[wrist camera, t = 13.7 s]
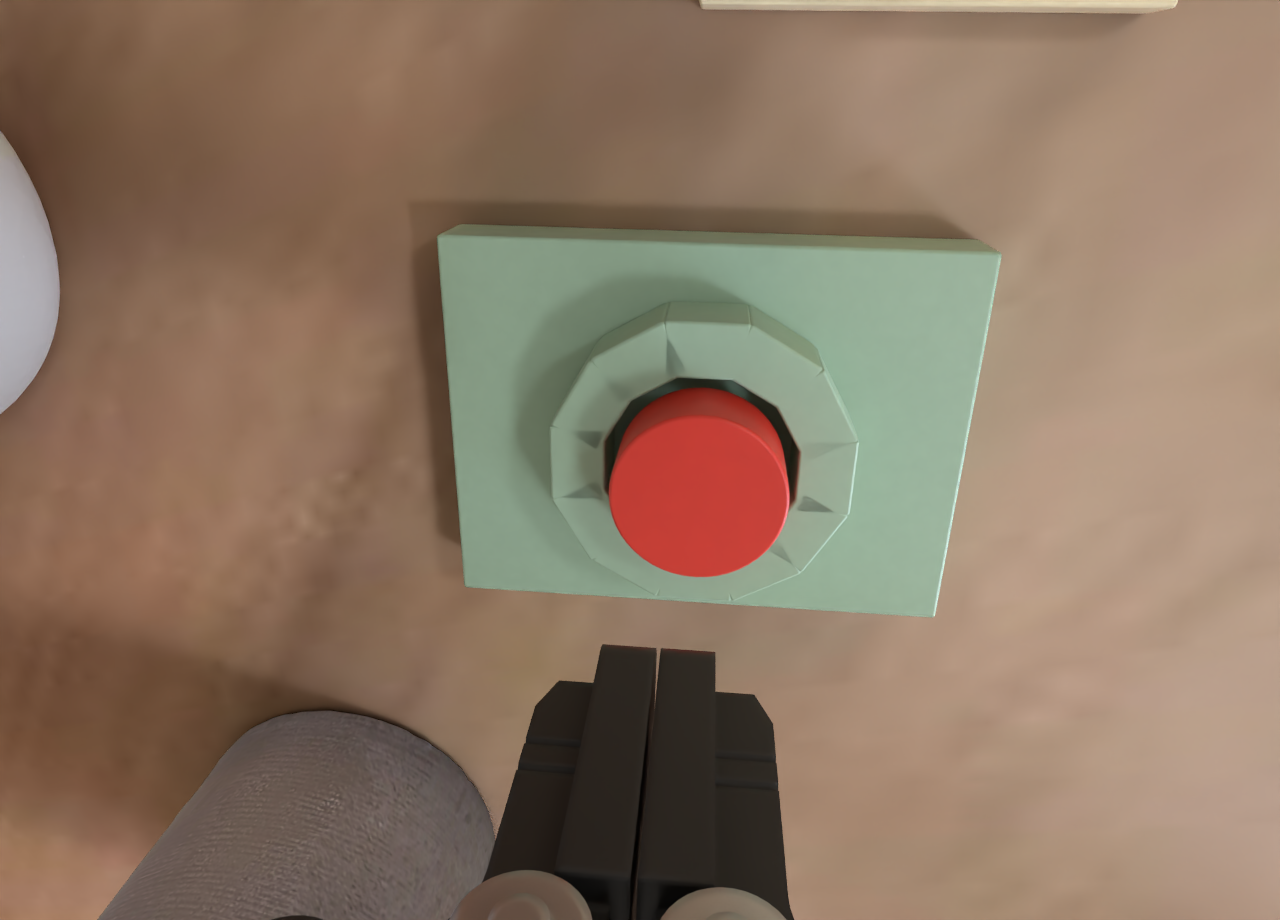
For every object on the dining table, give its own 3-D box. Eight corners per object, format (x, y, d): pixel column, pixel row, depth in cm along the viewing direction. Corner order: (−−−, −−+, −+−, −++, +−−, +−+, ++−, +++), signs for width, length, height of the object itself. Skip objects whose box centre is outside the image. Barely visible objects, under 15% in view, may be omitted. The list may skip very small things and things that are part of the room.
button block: (480, 555, 23) (442, 628, 20) (457, 223, 20) (406, 248, 17) (921, 583, 23) (953, 664, 19) (981, 239, 19) (1032, 268, 16)
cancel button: (617, 533, 19) (607, 573, 18) (618, 382, 18) (608, 410, 16) (777, 542, 19) (782, 584, 17) (791, 390, 17) (798, 420, 16)
